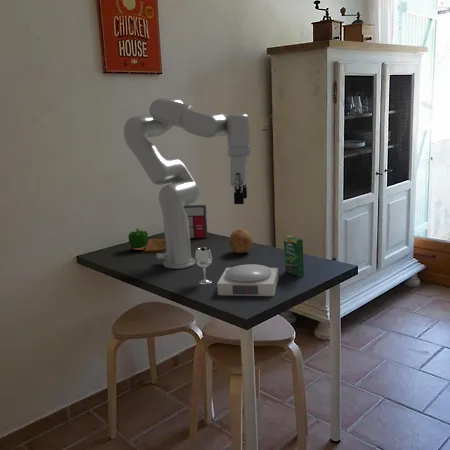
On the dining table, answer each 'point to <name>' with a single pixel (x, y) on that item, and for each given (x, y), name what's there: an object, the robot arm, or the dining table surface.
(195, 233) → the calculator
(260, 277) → the kitchen scale
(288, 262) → the coffee box
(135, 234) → the bell pepper
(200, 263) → the wineglass
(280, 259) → the dining table surface
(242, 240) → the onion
